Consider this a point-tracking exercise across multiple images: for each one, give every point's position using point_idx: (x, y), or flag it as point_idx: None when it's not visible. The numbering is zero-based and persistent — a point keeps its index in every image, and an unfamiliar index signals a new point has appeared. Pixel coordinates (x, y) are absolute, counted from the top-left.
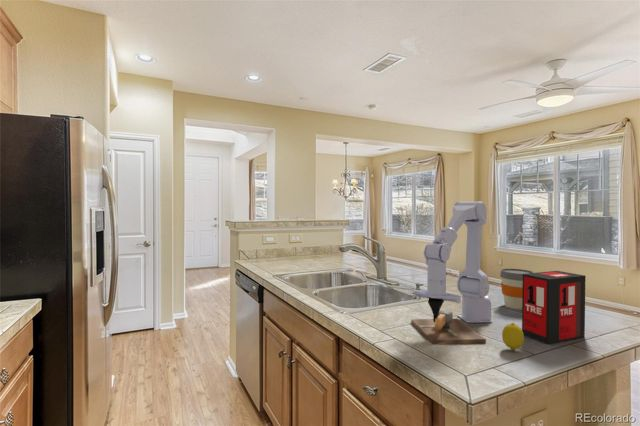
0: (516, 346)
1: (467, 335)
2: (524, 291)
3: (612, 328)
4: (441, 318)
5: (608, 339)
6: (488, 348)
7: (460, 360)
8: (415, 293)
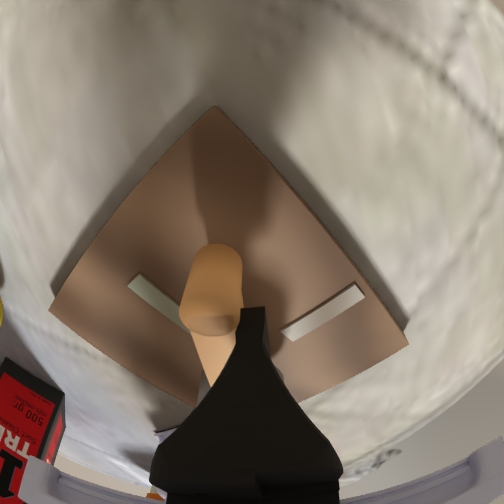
0: None
1: (105, 311)
2: None
3: None
4: (198, 343)
5: None
6: (23, 254)
7: (33, 39)
8: (496, 475)
